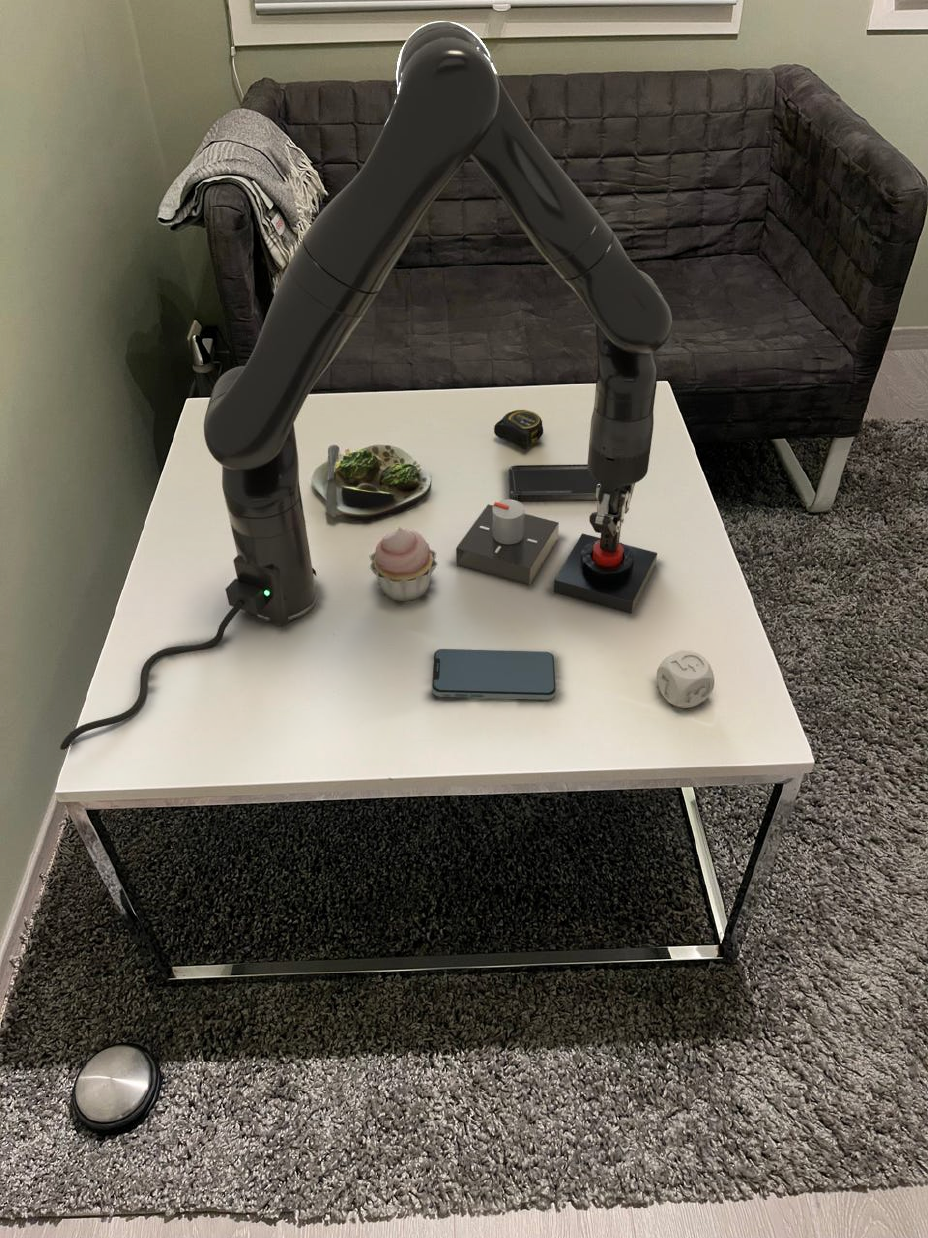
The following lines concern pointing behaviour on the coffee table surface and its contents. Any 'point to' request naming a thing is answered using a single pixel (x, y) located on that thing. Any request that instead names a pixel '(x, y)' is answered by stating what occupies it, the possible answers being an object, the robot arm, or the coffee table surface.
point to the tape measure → (520, 428)
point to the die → (685, 678)
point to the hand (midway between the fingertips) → (609, 548)
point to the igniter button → (607, 556)
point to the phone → (551, 483)
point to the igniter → (605, 576)
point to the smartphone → (493, 674)
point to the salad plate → (370, 482)
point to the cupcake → (403, 564)
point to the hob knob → (508, 521)
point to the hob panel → (507, 548)
